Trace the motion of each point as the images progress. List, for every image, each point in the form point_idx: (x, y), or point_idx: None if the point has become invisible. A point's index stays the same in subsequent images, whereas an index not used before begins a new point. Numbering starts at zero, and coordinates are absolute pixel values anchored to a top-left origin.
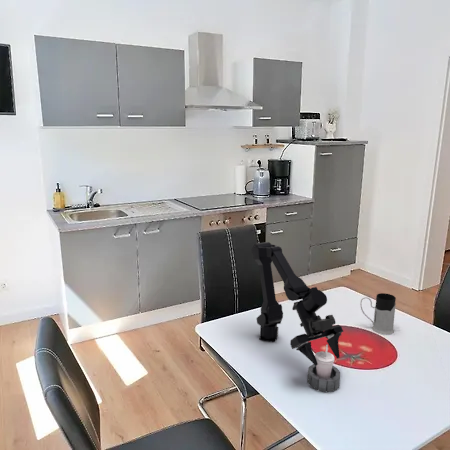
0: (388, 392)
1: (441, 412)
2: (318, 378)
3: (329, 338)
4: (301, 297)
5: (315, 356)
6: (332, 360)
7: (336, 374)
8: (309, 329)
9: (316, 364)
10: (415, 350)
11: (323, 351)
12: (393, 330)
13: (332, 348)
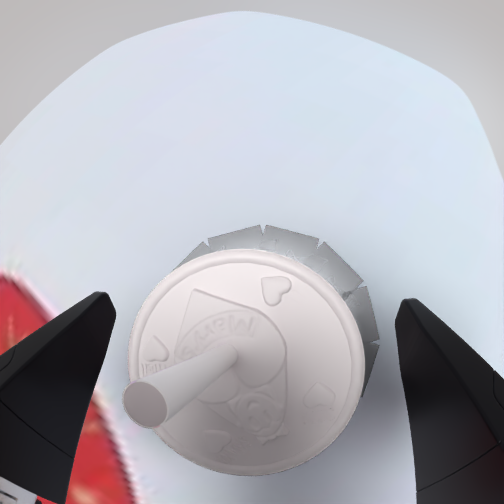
0: (89, 153)
1: (85, 67)
2: (354, 295)
3: (23, 489)
4: None
5: (347, 421)
6: (218, 251)
7: None
8: None
9: (415, 302)
10: None
11: (179, 450)
12: None
13: (72, 406)
